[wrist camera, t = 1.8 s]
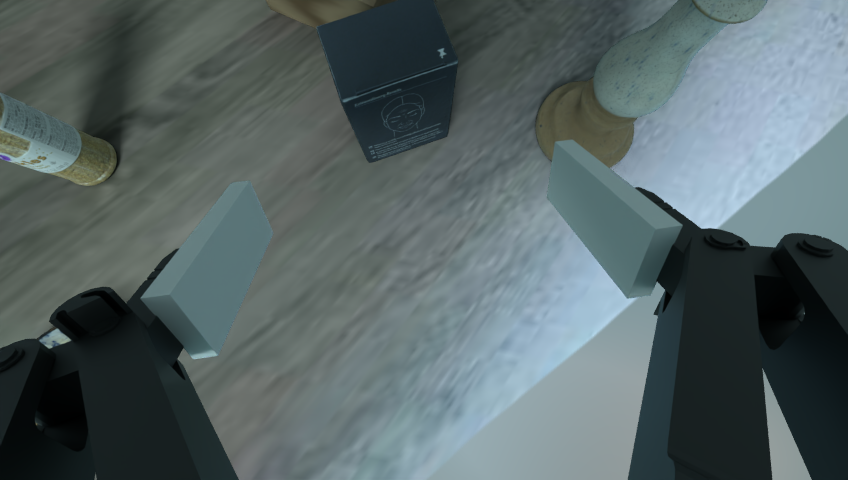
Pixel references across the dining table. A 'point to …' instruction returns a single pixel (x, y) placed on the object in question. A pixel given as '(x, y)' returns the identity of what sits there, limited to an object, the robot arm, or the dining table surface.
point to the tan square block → (322, 9)
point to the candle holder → (634, 79)
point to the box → (393, 75)
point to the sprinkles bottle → (52, 145)
